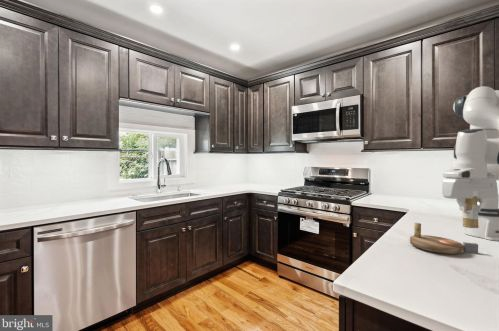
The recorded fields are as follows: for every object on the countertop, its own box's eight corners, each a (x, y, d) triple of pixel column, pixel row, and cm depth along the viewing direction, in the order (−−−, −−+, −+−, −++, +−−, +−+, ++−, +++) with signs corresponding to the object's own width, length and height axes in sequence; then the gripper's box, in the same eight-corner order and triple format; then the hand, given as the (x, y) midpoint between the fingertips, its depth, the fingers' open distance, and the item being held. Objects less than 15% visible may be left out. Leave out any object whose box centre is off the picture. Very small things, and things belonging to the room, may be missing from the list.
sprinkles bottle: (459, 226, 93) (457, 190, 94) (470, 225, 94) (469, 190, 94) (471, 228, 89) (469, 191, 89) (482, 228, 89) (481, 190, 89)
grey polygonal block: (476, 252, 101) (476, 243, 101) (478, 253, 99) (478, 244, 99) (463, 250, 102) (463, 242, 102) (464, 252, 101) (465, 243, 101)
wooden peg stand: (423, 237, 117) (423, 220, 117) (471, 249, 102) (471, 229, 102) (401, 242, 109) (401, 224, 108) (450, 256, 93) (450, 235, 93)
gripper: (485, 172, 96) (484, 208, 96) (438, 172, 93) (438, 209, 93) (504, 173, 90) (503, 211, 90) (455, 173, 86) (454, 212, 87)
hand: (469, 210), depth 91 cm, fingers closed on sprinkles bottle, 4 cm apart
